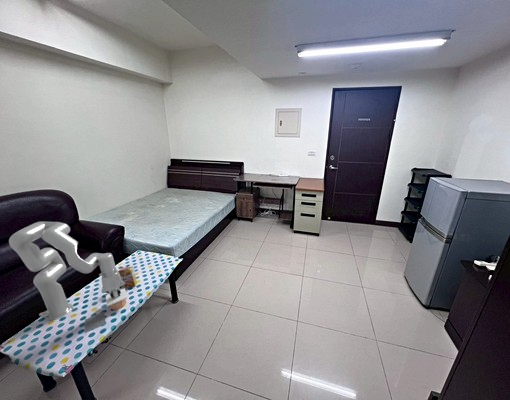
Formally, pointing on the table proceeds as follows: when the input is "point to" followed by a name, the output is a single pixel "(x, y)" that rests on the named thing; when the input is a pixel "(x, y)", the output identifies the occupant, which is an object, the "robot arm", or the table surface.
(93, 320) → the mat
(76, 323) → the table surface
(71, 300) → the table surface
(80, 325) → the table surface
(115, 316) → the table surface
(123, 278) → the candy box
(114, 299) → the white square peg base
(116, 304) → the bowl
